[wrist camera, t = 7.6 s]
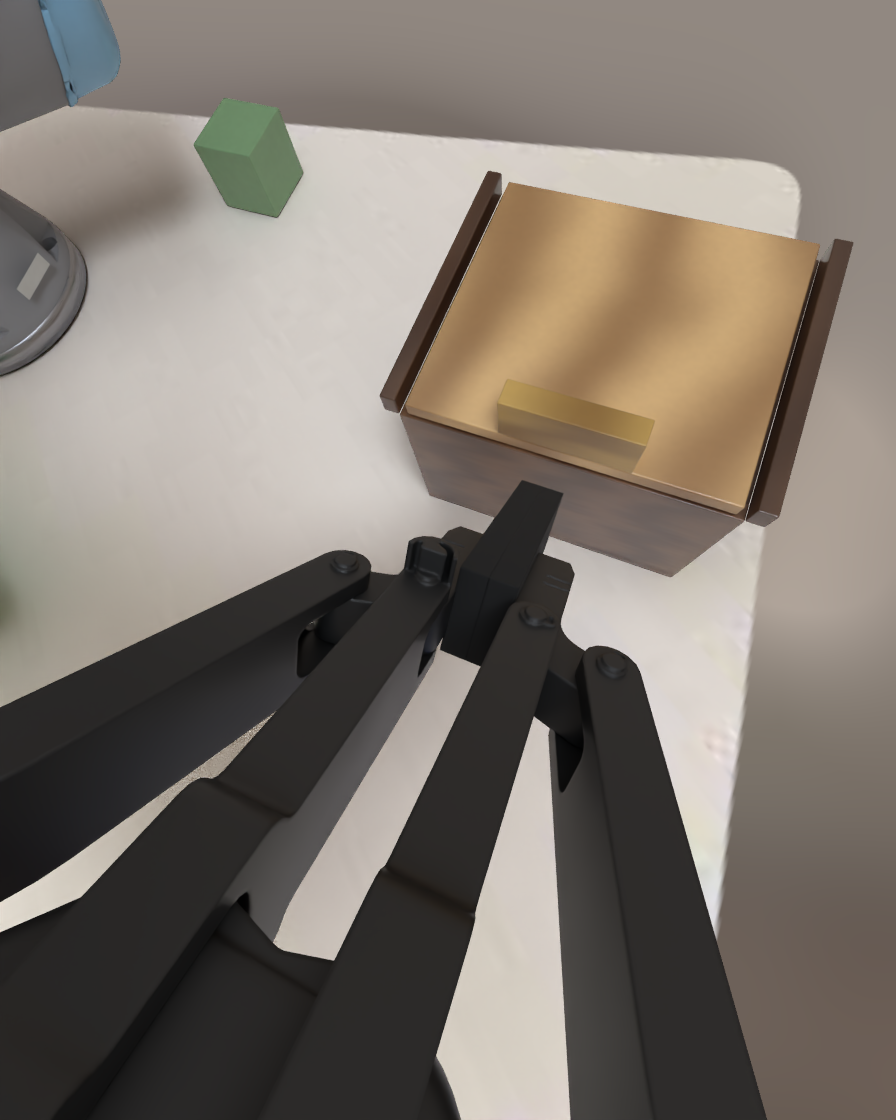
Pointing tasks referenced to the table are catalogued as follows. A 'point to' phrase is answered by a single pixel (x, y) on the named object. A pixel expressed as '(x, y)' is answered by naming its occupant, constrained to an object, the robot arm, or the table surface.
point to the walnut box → (589, 496)
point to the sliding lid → (620, 341)
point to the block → (250, 156)
